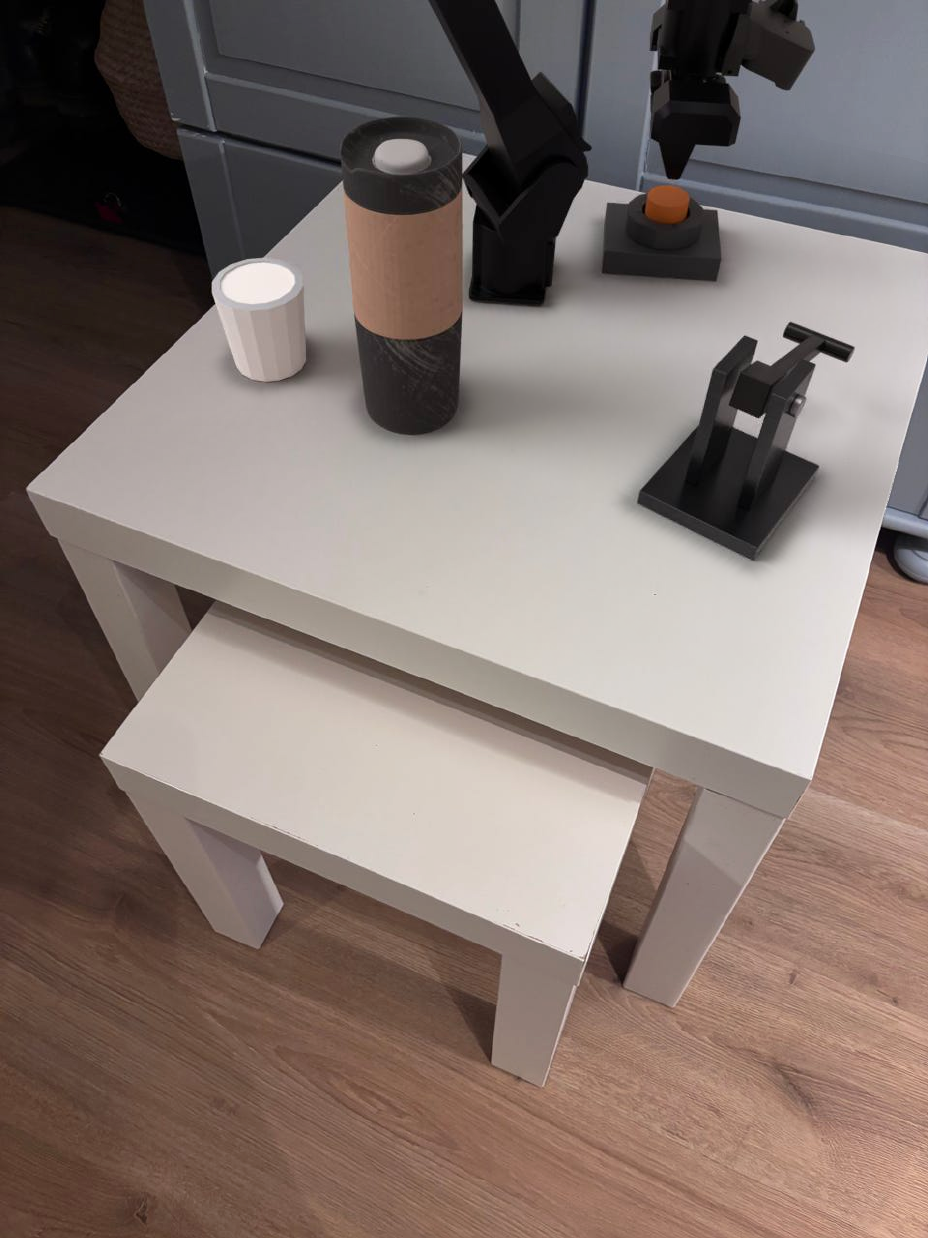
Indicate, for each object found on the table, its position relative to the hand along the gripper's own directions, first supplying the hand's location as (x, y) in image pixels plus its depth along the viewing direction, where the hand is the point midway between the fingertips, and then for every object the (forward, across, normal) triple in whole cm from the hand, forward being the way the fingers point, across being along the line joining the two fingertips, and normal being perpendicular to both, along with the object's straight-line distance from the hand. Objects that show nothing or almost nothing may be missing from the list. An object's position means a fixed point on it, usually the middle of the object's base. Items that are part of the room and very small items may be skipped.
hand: (673, 177), depth 83 cm
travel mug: (+7, -24, +19) cm, 31 cm away
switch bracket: (+7, -30, -4) cm, 31 cm away
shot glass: (+7, -20, +31) cm, 37 cm away
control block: (+7, 0, 0) cm, 7 cm away
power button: (+3, 0, 0) cm, 3 cm away
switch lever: (+1, -26, -7) cm, 27 cm away
